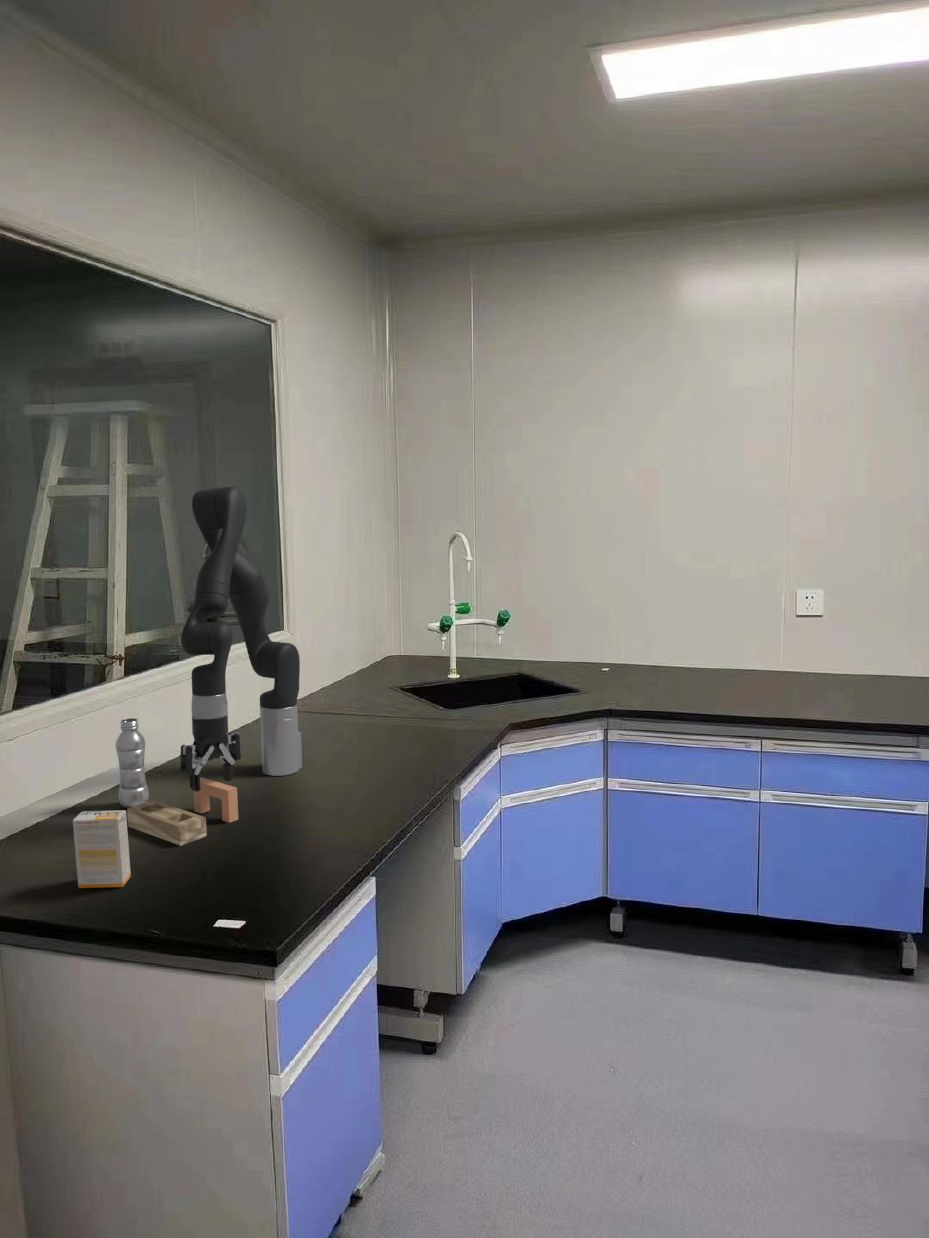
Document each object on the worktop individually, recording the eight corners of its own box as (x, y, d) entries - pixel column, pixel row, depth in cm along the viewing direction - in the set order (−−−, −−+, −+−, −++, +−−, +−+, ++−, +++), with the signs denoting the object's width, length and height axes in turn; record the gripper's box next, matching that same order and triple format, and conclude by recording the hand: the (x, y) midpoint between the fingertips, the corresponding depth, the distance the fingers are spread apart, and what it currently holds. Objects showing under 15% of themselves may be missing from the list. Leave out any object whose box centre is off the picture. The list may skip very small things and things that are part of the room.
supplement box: (131, 876, 167) (127, 809, 165) (123, 888, 162) (118, 818, 160) (86, 877, 167) (82, 809, 165) (76, 888, 162) (71, 819, 160)
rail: (154, 817, 197) (153, 799, 196) (206, 835, 186) (205, 817, 186) (128, 826, 192) (127, 808, 191) (180, 845, 181) (179, 826, 181)
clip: (203, 808, 202) (201, 777, 201) (238, 819, 195) (237, 787, 194) (194, 811, 200) (192, 780, 199) (229, 822, 194) (228, 790, 192)
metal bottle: (117, 812, 200) (112, 725, 197) (120, 802, 206) (115, 717, 203) (148, 809, 202) (143, 723, 199) (150, 799, 208) (145, 715, 205)
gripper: (225, 705, 202) (227, 774, 205) (171, 717, 191) (174, 790, 193) (247, 709, 198) (249, 780, 200) (193, 722, 187) (195, 797, 189)
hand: (212, 785), depth 197 cm, fingers open, 8 cm apart
